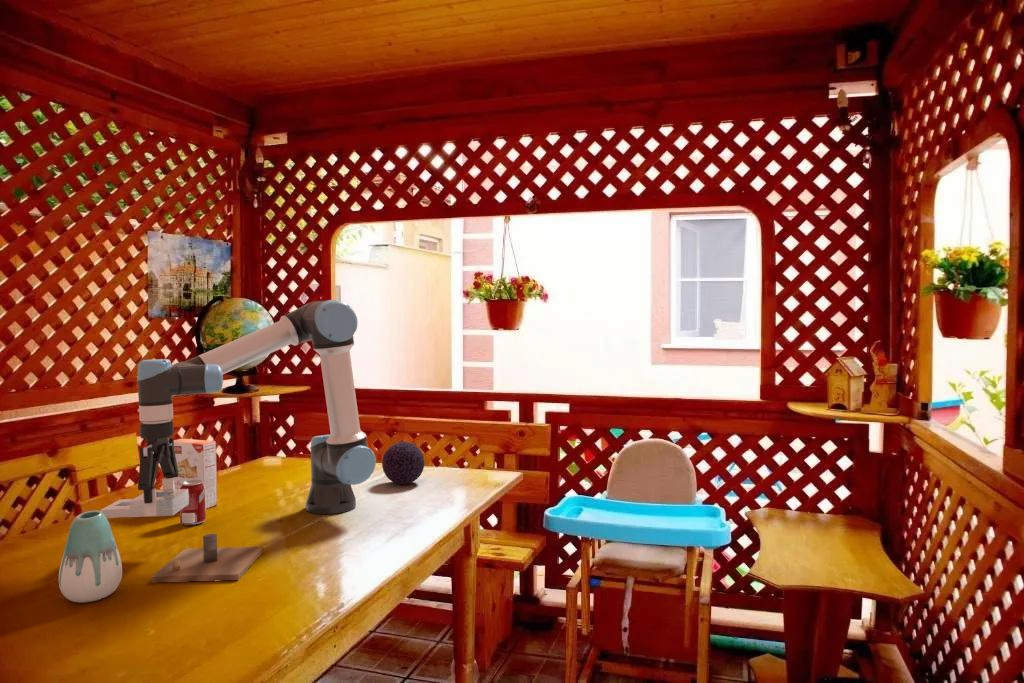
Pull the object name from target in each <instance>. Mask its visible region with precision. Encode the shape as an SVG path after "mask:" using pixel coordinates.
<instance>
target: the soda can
mask: <svg viewBox="0 0 1024 683" xmlns="http://www.w3.org/2000/svg"><path fill="white" fill-rule="evenodd" d="M202 483H203V481H201V480H190V481H185V482H182V486H181V488H180V489H188V493H189V504H188V505H187V506H186V507H184V508H183V509H181V510H180V511H179V523H180V524H181V525H183V524H184V526H185V525H193V526H197V525H196V524H198V525H200V523H201V524H203V523H204V522H205V521H206V519H207V514H206V510H207V509H205V486H204V485H203V484H202Z"/></svg>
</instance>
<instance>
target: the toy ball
mask: <svg viewBox="0 0 1024 683" xmlns="http://www.w3.org/2000/svg"><path fill="white" fill-rule="evenodd" d="M425 463H426V462H425V456H424V453H423V452H422V450H421V449H420V447H418V446H417V445H415V444H414V443H411V442H410V441H409V442H408V441H400V442H395V443H393V444H392V445H391V446H389V447H388V449H386V451H385V452H384V454H383V457H382V460H381V466H382V470H383V473H384V475H385V476H386V478H388V480H389V481H390V482H392V483H395V484H397V485H408V484H411V483H413V482H416V480H418V478H420V477H421V475H422V474H423V471H424V469H425Z"/></svg>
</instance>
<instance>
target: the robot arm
mask: <svg viewBox="0 0 1024 683" xmlns="http://www.w3.org/2000/svg"><path fill="white" fill-rule="evenodd" d="M358 323H359V322H358V317H357V314H356V312H355V310H354V308H352V307H351V305H349V304H348V303H346V302H343V301H341V300H336V299H328V300H314V301H312V302H308V303H306V304H304V305H302V306H301V307H299V308H296V309H295V310H293V311H290V312H289V313H287V314H284V315H281V316H280V318H279V320H278V321H276V322H274V323H271V324H268V325H267V326H265V327H262V328H260V329H258V330H255V331H253V332H250V333H248V334H245V335H243V336H241V337H239V338H237V339H235V340H232V341H230V342H227V343H225V344H222V345H220V346H218V347H216V348H213V349H211V350H208V351H206V352H203V353H202V354H199V355H196V356H195V357H192V358H190V359H188V360H185V361H178V362H175V363H174V364H172V362H171V360H170V359H169V358H161V359H154V358H153V359H144V360H140V361H139V362H138V364H137V378H136V381H137V392H138V393H137V394H138V396H137V397H138V408H137V412H138V414H139V421H140V422H141V423H140V424H139V437H140V438H141V439H143V440H146V444H145V447H139V448H140V449H139V454H140V455H139V456H140V460H139V471H138V483H137V490H138V491H142V494H143V499H144V516H147V517H157V516H156V515H157V501H156V490H157V488H155V484H156V479H157V478H156V477H157V473H158V469H159V466H160V468H161V471H162V472H161V473H162V475H163V478H162V479H161V480H162V481H161V482H162V490H172V489H175V484H174V478H173V477H178V467H177V461H176V456H175V450H174V440H175V439H174V437H172V436H173V435H174V434H175V433H174V432H175V431H174V427H175V426H174V421H172V419H173V418H174V404H173V397H175V396H176V397H179V396H189V395H191V396H192V395H204V394H207V395H209V394H213V393H218V392H220V391H221V390H222V388H223V384H224V376H223V375H225V374H227V373H229V372H232V371H233V370H236V369H238V368H240V367H243V366H245V365H247V364H250V363H251V362H255V361H256V360H259V359H261V358H262V357H265V356H267V355H270V354H272V353H274V352H277V351H278V350H281V349H283V348H285V347H287V346H290V345H292V346H295V347H296V346H299V345H300V344H303V343H305V342H306V343H307V342H310V341H311V343H312V349H313V350H314V351H315V352H316V353H317V354H318V355H319V359H320V367H321V374H322V380H323V388H324V396H325V404H326V409H327V410H326V411H327V416H328V424H329V431H330V434H324V435H323V434H322V435H316V436H313V437H312V438H311V441H310V446H309V447H310V471H311V472H310V476H311V477H310V478H311V479H310V480H311V484H310V485H311V486H310V487H309V491H308V495H307V498H306V501H305V510H306V512H307V513H310V514H316V515H334V514H341V513H346V512H349V511H352V510H354V509H355V508H356V507H357V506H356V505H357V499H356V496H355V493H354V491H353V488H352V486H354V485H355V486H356V485H360V484H362V483H364V482H366V481H367V480H369V478H371V476H372V474H373V473H374V471H375V468H376V464H377V459H376V458H377V457H376V455H375V452H374V451H373V450H372V449H371V448H369V446H368V437H367V434H366V432H363V431H362V429H361V425H360V417H359V410H358V404H357V397H356V396H357V395H356V388H355V381H354V380H355V379H354V372H353V365H352V359H351V349H352V348H353V346H355V341H354V339H355V338H354V335H355V333H356V332H357V329H358V325H359V324H358Z"/></svg>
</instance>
